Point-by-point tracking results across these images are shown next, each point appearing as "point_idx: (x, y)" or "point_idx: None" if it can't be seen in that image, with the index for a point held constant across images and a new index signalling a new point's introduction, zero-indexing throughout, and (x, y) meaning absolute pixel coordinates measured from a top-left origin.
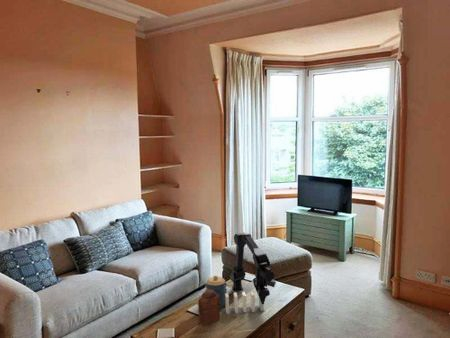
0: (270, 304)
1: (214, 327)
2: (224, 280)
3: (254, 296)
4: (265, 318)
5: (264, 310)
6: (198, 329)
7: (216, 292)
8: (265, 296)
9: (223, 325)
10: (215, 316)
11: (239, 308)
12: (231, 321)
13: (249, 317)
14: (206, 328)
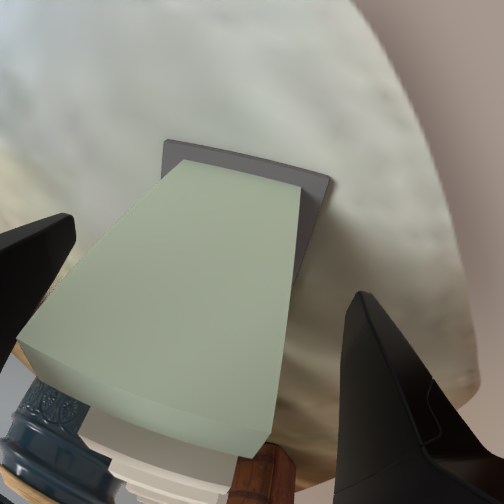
0: (149, 22)
1: (325, 459)
2: (27, 491)
3: (235, 465)
4: (443, 239)
5: (293, 170)
6: (305, 477)
7: (117, 490)
8: (473, 465)
9: (332, 444)
10: (283, 479)
11: None
12: (318, 422)
13: (337, 346)
14: (314, 469)
